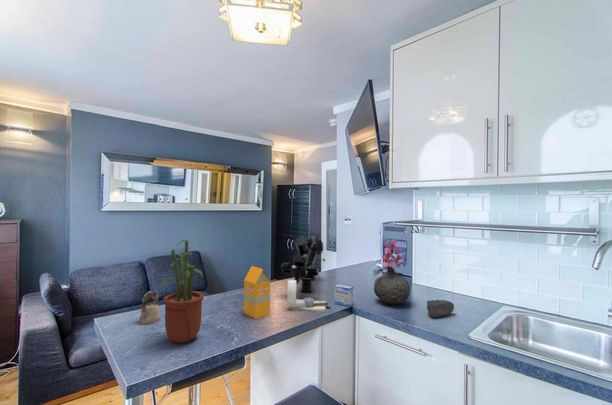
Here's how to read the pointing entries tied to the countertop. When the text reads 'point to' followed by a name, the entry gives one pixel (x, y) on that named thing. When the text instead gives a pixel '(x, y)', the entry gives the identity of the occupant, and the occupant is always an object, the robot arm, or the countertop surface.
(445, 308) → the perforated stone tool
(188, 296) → the potted plant
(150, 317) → the figurine
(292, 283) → the crank handle
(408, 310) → the countertop surface
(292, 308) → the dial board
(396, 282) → the vase
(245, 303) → the orange juice
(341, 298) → the medicine box
